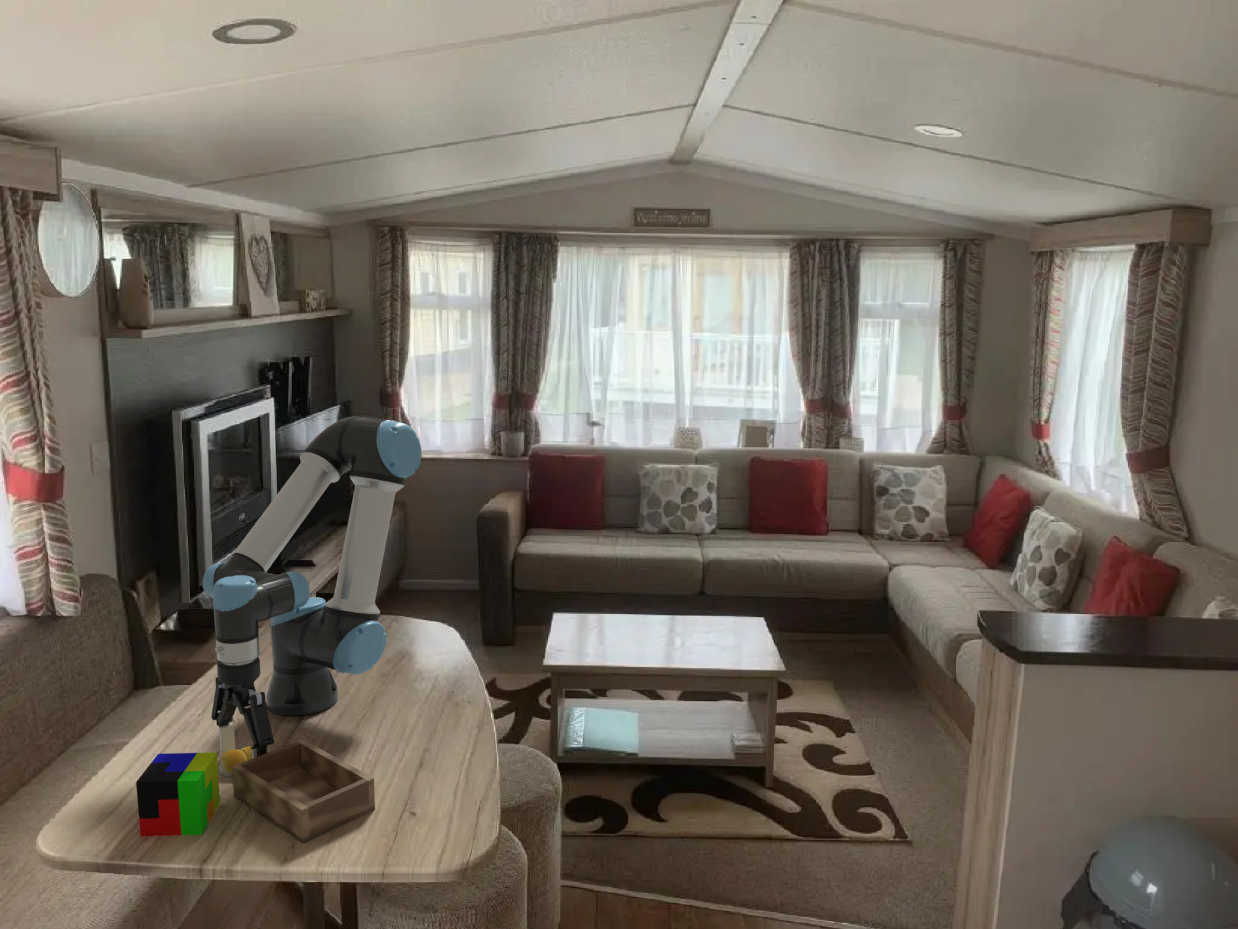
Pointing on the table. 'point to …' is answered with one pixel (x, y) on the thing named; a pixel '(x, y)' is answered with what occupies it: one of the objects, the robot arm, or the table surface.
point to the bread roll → (233, 759)
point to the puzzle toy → (178, 794)
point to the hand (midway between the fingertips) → (243, 767)
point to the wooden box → (303, 789)
